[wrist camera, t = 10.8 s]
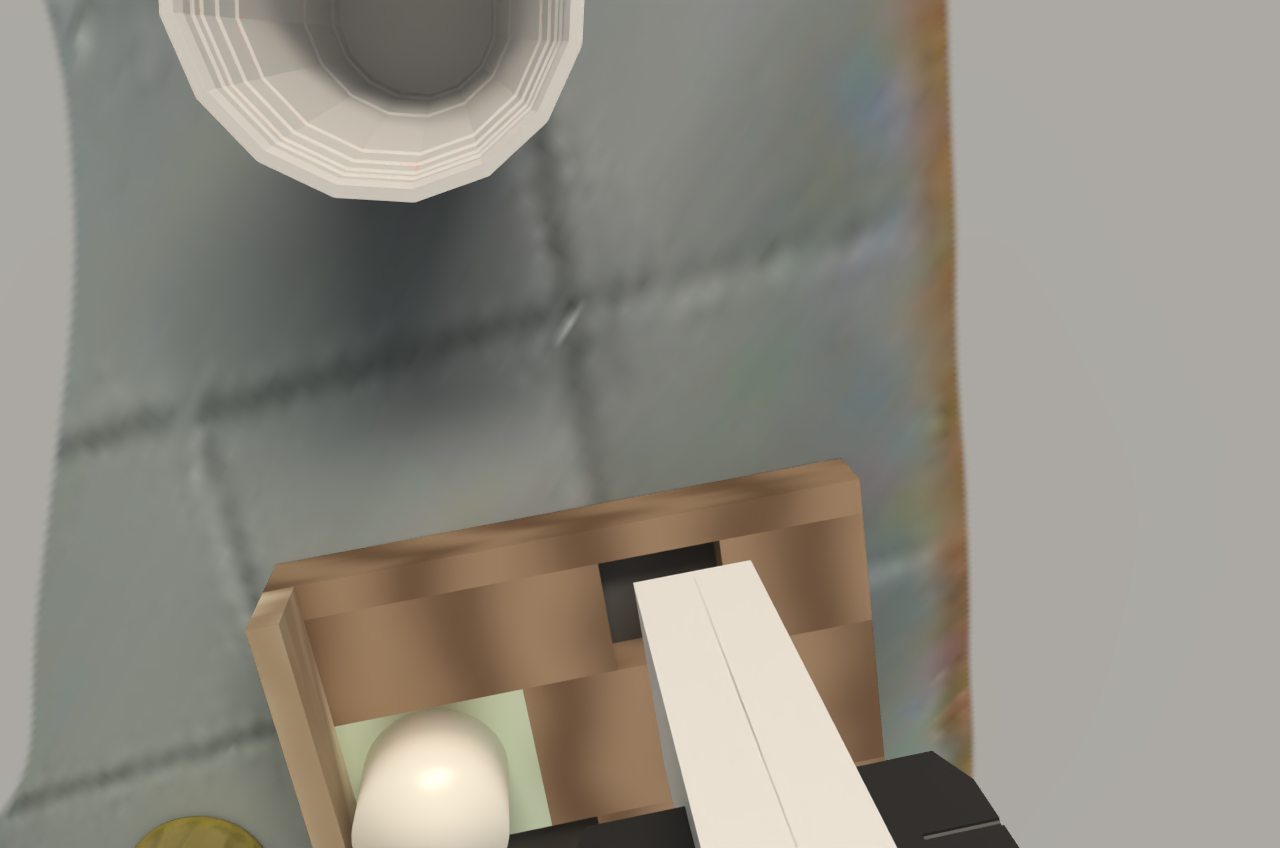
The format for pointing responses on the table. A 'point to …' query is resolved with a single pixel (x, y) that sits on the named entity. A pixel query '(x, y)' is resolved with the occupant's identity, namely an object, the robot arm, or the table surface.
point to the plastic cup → (378, 84)
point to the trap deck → (554, 641)
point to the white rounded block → (434, 785)
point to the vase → (198, 835)
